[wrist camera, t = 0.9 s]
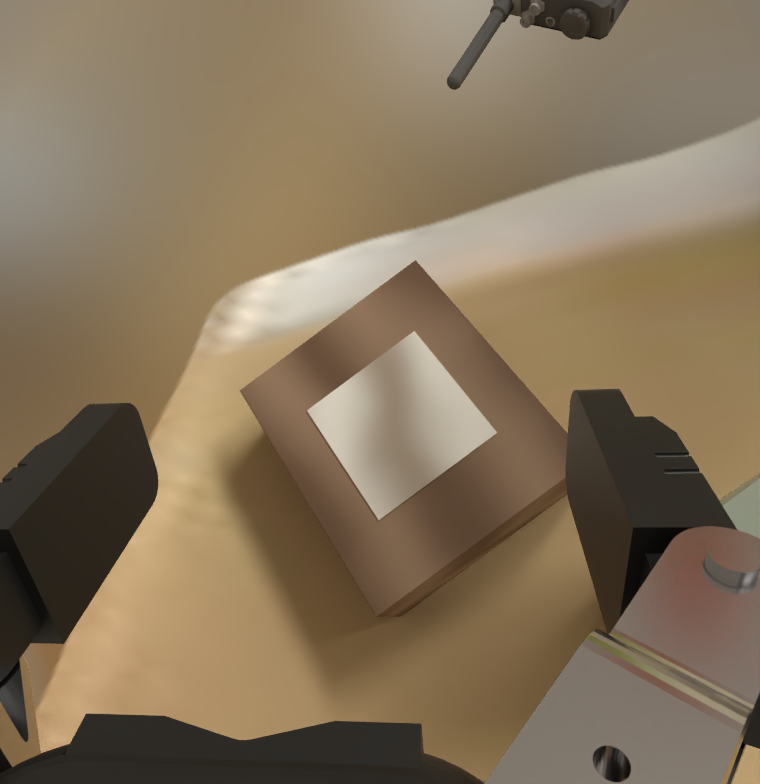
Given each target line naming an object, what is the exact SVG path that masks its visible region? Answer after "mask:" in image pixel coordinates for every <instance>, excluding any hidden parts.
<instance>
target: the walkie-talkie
mask: <svg viewBox="0 0 760 784" xmlns="http://www.w3.org/2000/svg"><path fill="white" fill-rule="evenodd" d="M493 1H494V5H493V7H492V8H491V10H490V15H489V17H488V18H487V19H486V21H485V22H484V24H483V25H482V27H481V29H480V30H479V31H478V33H477V34H476V36H475V38H474V39H473V41H472V42H471V44H470V45H469V47H468V48H467V50H466V51H465V53H464V54H463V56H462V57H461V59H460V60H459V62H458V63H457V65H456V66H455V68H454V69H453V71H452V72H451V74H450V75H449V77H448V79H447V84H448V86H449V87H450V88H451V89H458V88H459V87H460V86H461V84H462V83H463V81H464V80H465V78H466V77H467V75H468V73H469V72H470V70H471V69H472V67H473V66H474V64H475V63H476V61H477V60H478V58H479V57H480V55H481V53H482V52H483V51H484V49H485V47H486V46H487V44H488V43H489V41H490V40H491V38H492V37H493V35H494V34H495V32H496V31H497V29H498V27H499V26H500V24H501V23H502V22H505V20H506V19H507V18H508V16H509V14H511V15H515V16H520V17H521V19H520V24H521V25H522V26H523V27H525V28H528V27H529V26H530V25H534V26H539V27H543V28H548V29H553V30H558V31H562V32H563V33H564V34H565V35H566V36H567V37H569V38H571V39H582V38H583V37H589V38H594V39H598V40H600V39H602V38H604V37H606V36H607V35H608V33H609V32H610V30H611V29H612V27H613V26H614V24H615V22H616V21H617V19H618V17H619V16H620V14H621V13H622V11H623V9H624V8H625V6H626V4H627V2H628V1H629V0H493Z"/></svg>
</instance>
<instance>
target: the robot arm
mask: <svg viewBox="0 0 760 784" xmlns="http://www.w3.org/2000/svg"><path fill="white" fill-rule="evenodd" d="M565 475H566V488H567V495H568V500H569V503H570V507H571V510H572V513H573V517H574V520H575V524H576V527H577V531H578V534H579V537H580V541H581V544H582V548H583V551H584V554H585V558H586V561H587V565H588V568H589V571H590V575H591V578H592V582H593V585H594V589H595V592H596V595H597V599H598V602H599V606H600V609H601V612H602V616H603V619H604V623H605V626H606V630H607V633H608V634H606V633H604V632H603V631H601V630H594V631H593V632H591V633H590V634H589V635H588V636H587V637H586V638H585V640H584V641H583V642H582V644H581V645H580V647H579V648H578V649H577V651H576V652H575V654H574V655H573V657H572V658H571V659H570V661H569V662H568V664H567V665H566V667H565V668H564V669H563V671H562V672H561V674H560V675H559V677H558V678H557V679H556V681H555V682H554V684H553V685H552V687H551V688H550V690H549V691H548V692H547V694H546V695H545V697H544V698H543V700H542V701H541V702H540V704H539V705H538V707H537V708H536V710H535V711H534V712H533V714H532V715H531V717H530V718H529V720H528V721H527V722H526V724H525V725H524V727H523V728H522V730H521V731H520V733H519V734H518V735H517V737H516V738H515V740H514V741H513V743H512V744H511V745H510V747H509V748H508V750H507V751H506V753H505V754H504V755H503V757H502V758H501V760H500V761H499V763H498V764H497V765H496V767H495V768H494V770H493V771H492V773H491V774H490V775H489V777H488V778H487V780H486V781H485V783H484V782H482V781H481V780H479V779H478V778H476V777H475V776H473V775H471V774H470V773H468V772H467V771H465V770H463V769H462V768H460V767H458V766H455V765H453V764H451V763H449V762H447V761H445V760H443V759H440V758H437V757H434V756H431V755H428V754H425V753H424V751H423V739H422V726H421V724H412V723H379V722H346V721H333V722H329V723H324V724H320V725H315V726H311V727H306V728H302V729H297V730H293V731H288V732H283V733H279V734H274V735H270V736H265V737H261V738H256V739H252V740H236V739H232V738H229V737H226V736H223V735H220V734H217V733H214V732H211V731H208V730H205V729H202V728H199V727H196V726H193V725H190V724H187V723H184V722H181V721H178V720H175V719H172V718H169V717H166V716H147V715H114V714H86V715H85V717H84V719H83V721H82V723H81V724H80V726H79V728H78V730H77V732H76V734H75V736H74V737H73V739H72V741H71V743H70V744H68V745H64V746H61V747H58V748H55V749H53V750H50V751H47V752H44V753H41V751H40V744H39V736H38V729H37V721H36V714H35V707H34V699H33V692H32V685H31V677H30V670H29V666H28V664H27V662H26V660H25V658H24V656H23V653H24V652H25V650H26V649H27V647H28V646H29V645H30V643H57V644H64V643H65V641H66V640H67V638H68V636H69V635H70V633H71V632H72V630H73V629H74V627H75V625H76V624H77V622H78V621H79V619H80V618H81V616H82V614H83V613H84V611H85V610H86V608H87V607H88V605H89V603H90V602H91V600H92V599H93V597H94V596H95V594H96V593H97V591H98V589H99V588H100V586H101V585H102V583H103V582H104V580H105V578H106V577H107V575H108V574H109V572H110V571H111V569H112V567H113V566H114V564H115V563H116V561H117V560H118V558H119V556H120V555H121V553H122V552H123V550H124V549H125V547H126V545H127V544H128V542H129V541H130V539H131V538H132V536H133V535H134V533H135V531H136V530H137V528H138V527H139V525H140V524H141V522H142V520H143V519H144V517H145V516H146V514H147V513H148V511H149V509H150V508H151V506H152V505H153V503H154V501H155V498H156V495H157V490H158V474H157V469H156V466H155V463H154V460H153V456H152V453H151V450H150V447H149V444H148V440H147V437H146V434H145V431H144V428H143V425H142V421H141V418H140V415H139V412H138V411H137V409H136V408H135V406H134V405H132V404H130V403H109V404H89V405H87V406H86V407H85V408H84V409H82V410H81V411H80V412H79V414H78V415H76V416H75V417H74V418H73V419H72V420H71V421H70V422H69V423H68V424H67V425H66V426H65V427H64V428H63V429H62V430H61V431H60V432H59V433H57V434H56V435H54V436H52V437H51V438H49V439H47V440H45V441H44V442H42V443H41V444H39V445H37V446H36V447H35V448H34V449H33V450H32V451H30V452H29V453H28V454H27V455H26V456H25V457H24V458H23V459H22V460H21V461H20V462H19V463H18V467H17V468H13V469H12V470H11V471H10V472H9V473H8V474H7V475H6V476H5V477H4V478H3V482H2V483H0V784H732V782H733V779H734V777H735V774H736V772H737V769H738V766H739V764H740V761H741V758H742V756H743V753H744V751H745V748H746V745H750V746H753V747H756V748H759V749H760V538H758V537H755V536H753V535H750V534H748V533H745V532H742V531H739V530H737V528H736V527H735V525H734V523H733V522H732V520H731V519H730V517H729V515H728V514H727V512H726V511H725V509H724V508H723V506H722V504H721V503H720V501H719V500H718V498H717V496H716V495H715V493H714V492H713V490H712V489H711V487H710V485H709V484H708V482H707V481H706V479H705V477H704V476H703V474H702V473H699V468H698V466H697V465H696V463H695V462H694V460H693V458H692V457H691V456H689V452H688V451H687V449H686V447H685V446H684V444H683V443H682V441H681V439H680V438H679V436H678V435H677V433H676V432H674V431H673V430H672V429H670V428H669V427H667V426H666V425H664V424H663V423H661V422H660V421H659V420H657V419H656V418H654V417H653V416H650V417H635V416H634V414H633V413H632V411H631V409H630V407H629V405H628V403H627V402H626V400H625V398H624V396H623V394H622V392H621V391H620V390H619V389H599V390H574V391H573V393H572V396H571V401H570V413H569V426H568V439H567V452H566V466H565Z"/></svg>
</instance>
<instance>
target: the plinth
mask: <svg viewBox="0 0 760 784" xmlns="http://www.w3.org/2000/svg"><path fill="white" fill-rule="evenodd" d="M240 392H241V394H242V395H243V397H244V399H245V400H246V402H247V404H248V405H249V407H250V409H251V410H252V412H253V413H254V415H255V417H256V418H257V420H258V422H259V423H260V425H261V427H262V428H263V430H264V432H265V433H266V435H267V437H268V438H269V440H270V442H271V443H272V445H273V447H274V448H275V450H276V451H277V453H278V455H279V456H280V458H281V460H282V461H283V463H284V465H285V466H286V468H287V470H288V471H289V473H290V475H291V476H292V478H293V480H294V481H295V483H296V485H297V486H298V488H299V489H300V491H301V493H302V494H303V496H304V498H305V499H306V501H307V503H308V504H309V506H310V508H311V509H312V511H313V513H314V514H315V516H316V518H317V519H318V521H319V523H320V524H321V526H322V528H323V529H324V531H325V532H326V534H327V536H328V537H329V539H330V541H331V542H332V544H333V546H334V547H335V549H336V551H337V552H338V554H339V556H340V557H341V559H342V561H343V562H344V564H345V566H346V567H347V569H348V570H349V572H350V574H351V575H352V577H353V579H354V580H355V582H356V584H357V585H358V587H359V589H360V590H361V592H362V594H363V595H364V597H365V599H366V600H367V602H368V604H369V605H370V607H371V608H372V610H373V612H374V613H375V615H376V617H389V616H402V615H403V614H405V613H406V612H407V611H409V610H410V609H412V608H413V607H414V606H416V605H417V604H418V603H420V602H421V601H422V600H424V599H425V598H426V597H428V596H429V595H431V594H432V593H433V592H435V591H436V590H437V589H439V588H440V587H441V586H443V585H444V584H445V583H447V582H448V581H450V580H451V579H452V578H454V577H455V576H456V575H458V574H459V573H460V572H462V571H463V570H464V569H466V568H467V567H469V566H470V565H471V564H473V563H474V562H475V561H477V560H478V559H479V558H481V557H482V556H483V555H485V554H486V553H488V552H489V551H490V550H492V549H493V548H494V547H496V546H497V545H498V544H500V543H501V542H502V541H504V540H505V539H507V538H508V537H509V536H511V535H512V534H513V533H515V532H516V531H517V530H519V529H520V528H521V527H523V526H524V525H526V524H527V523H528V522H530V521H531V520H532V519H534V518H535V517H536V516H538V515H539V514H540V513H542V512H543V511H545V510H546V509H547V508H549V507H550V506H551V505H553V504H554V503H555V502H557V501H558V500H559V499H561V498H562V497H564V496H565V495H566V494H567V488H566V475H565V466H566V452H567V439H568V434H567V433H566V431H565V430H564V429H563V428H562V427H561V426H560V425H559V423H558V422H557V421H556V420H555V419H554V418H553V417H552V415H551V414H550V413H549V412H548V411H547V410H546V409H545V407H544V406H543V405H542V404H541V403H540V402H539V401H538V399H537V398H536V397H535V396H534V395H533V394H532V393H531V391H530V390H529V389H528V388H527V387H526V386H525V385H524V384H523V382H522V381H521V380H520V379H519V378H518V377H517V376H516V374H515V373H514V372H513V371H512V370H511V369H510V368H509V366H508V365H507V364H506V363H505V362H504V361H503V360H502V358H501V357H500V356H499V355H498V354H497V353H496V352H495V350H494V349H493V348H492V347H491V346H490V345H489V344H488V342H487V341H486V340H485V339H484V338H483V337H482V336H481V334H480V333H479V332H478V331H477V330H476V329H475V328H474V326H473V325H472V324H471V323H470V322H469V321H468V320H467V318H466V317H465V316H464V315H463V314H462V313H461V312H460V310H459V309H458V308H457V307H456V306H455V305H454V304H453V302H452V301H451V300H450V299H449V298H448V297H447V296H446V294H445V293H444V292H443V291H442V290H441V289H440V288H439V287H438V285H437V284H436V283H435V282H434V281H433V280H432V279H431V277H430V276H429V275H428V274H427V273H426V272H425V271H424V269H423V268H422V267H421V266H420V265H419V264H418V263H417V261H416V260H415V261H414V262H413V263H411V264H410V265H409V266H407V267H406V268H404V269H403V270H402V271H400V272H399V273H398V274H396V275H395V276H394V277H392V278H391V279H390V280H388V281H387V282H386V283H384V284H383V285H382V286H380V287H379V288H378V289H376V290H375V291H373V292H372V293H371V294H369V295H368V296H367V297H365V298H364V299H363V300H361V301H360V302H359V303H357V304H356V305H355V306H353V307H352V308H351V309H349V310H348V311H347V312H345V313H344V314H342V315H341V316H340V317H338V318H337V319H336V320H334V321H333V322H332V323H330V324H329V325H328V326H326V327H325V328H324V329H322V330H321V331H320V332H318V333H317V334H315V335H314V336H313V337H311V338H310V339H309V340H307V341H306V342H305V343H303V344H302V345H301V346H299V347H298V348H297V349H295V350H294V351H293V352H291V353H290V354H289V355H287V356H286V357H284V358H283V359H282V360H280V361H279V362H278V363H276V364H275V365H274V366H272V367H271V368H270V369H268V370H267V371H266V372H264V373H263V374H262V375H260V376H259V377H257V378H256V379H255V380H253V381H252V382H251V383H249V384H248V385H247V386H245V387H244V388H243V389H241V390H240Z"/></svg>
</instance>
